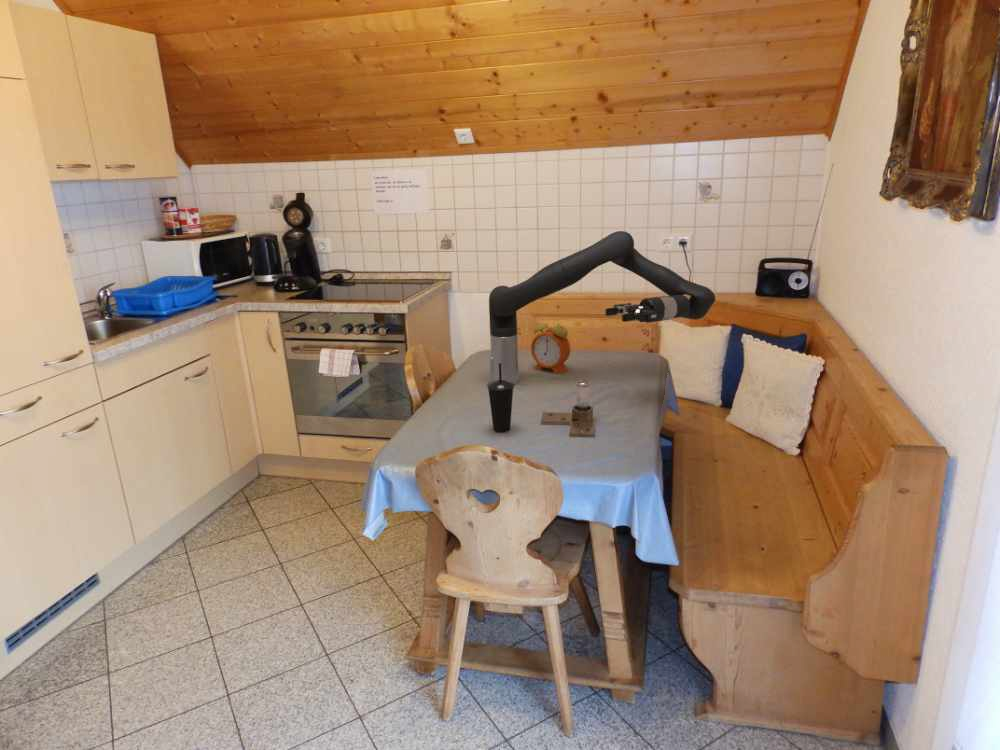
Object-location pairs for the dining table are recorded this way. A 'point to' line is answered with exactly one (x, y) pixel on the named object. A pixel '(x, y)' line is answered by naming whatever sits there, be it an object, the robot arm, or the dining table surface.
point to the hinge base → (573, 421)
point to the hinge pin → (582, 395)
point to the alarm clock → (550, 348)
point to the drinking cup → (501, 403)
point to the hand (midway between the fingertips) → (614, 315)
